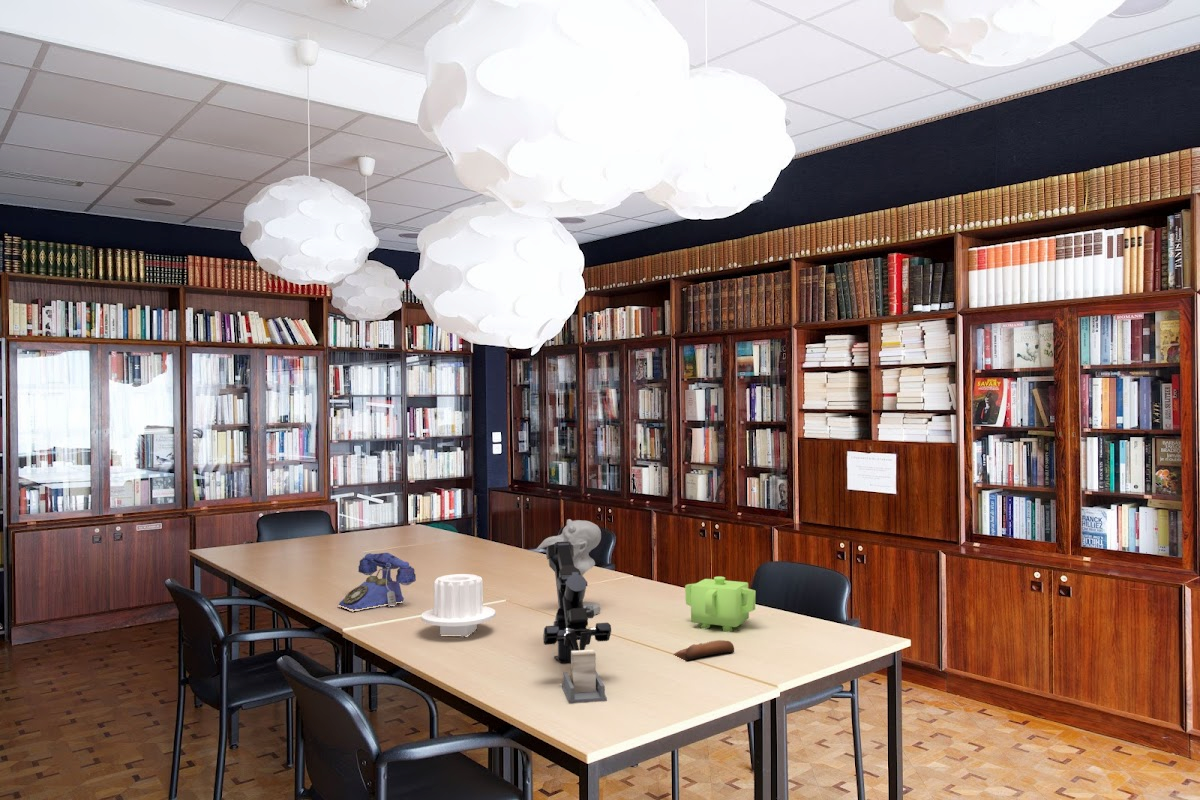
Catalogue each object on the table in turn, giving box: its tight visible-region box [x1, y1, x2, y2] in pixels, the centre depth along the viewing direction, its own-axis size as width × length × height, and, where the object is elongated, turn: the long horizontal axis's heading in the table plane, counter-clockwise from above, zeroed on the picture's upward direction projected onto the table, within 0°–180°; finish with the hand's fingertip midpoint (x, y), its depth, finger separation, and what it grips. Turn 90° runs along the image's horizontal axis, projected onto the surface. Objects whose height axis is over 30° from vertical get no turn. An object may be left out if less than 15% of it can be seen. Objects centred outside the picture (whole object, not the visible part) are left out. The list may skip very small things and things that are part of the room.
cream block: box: [570, 649, 597, 693], centre depth 223 cm, size 4×6×10 cm, turn 100°
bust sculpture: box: [536, 518, 602, 616], centre depth 314 cm, size 16×24×35 cm
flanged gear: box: [420, 573, 496, 636], centre depth 286 cm, size 25×25×19 cm
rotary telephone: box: [338, 552, 417, 610], centre depth 331 cm, size 41×24×20 cm, turn 44°
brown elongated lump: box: [673, 639, 735, 662], centre depth 258 cm, size 18×7×7 cm, turn 119°
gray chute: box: [561, 671, 608, 704], centre depth 223 cm, size 14×10×4 cm
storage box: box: [684, 575, 757, 632], centre depth 292 cm, size 25×23×17 cm
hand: (580, 661), depth 228 cm, fingers closed
